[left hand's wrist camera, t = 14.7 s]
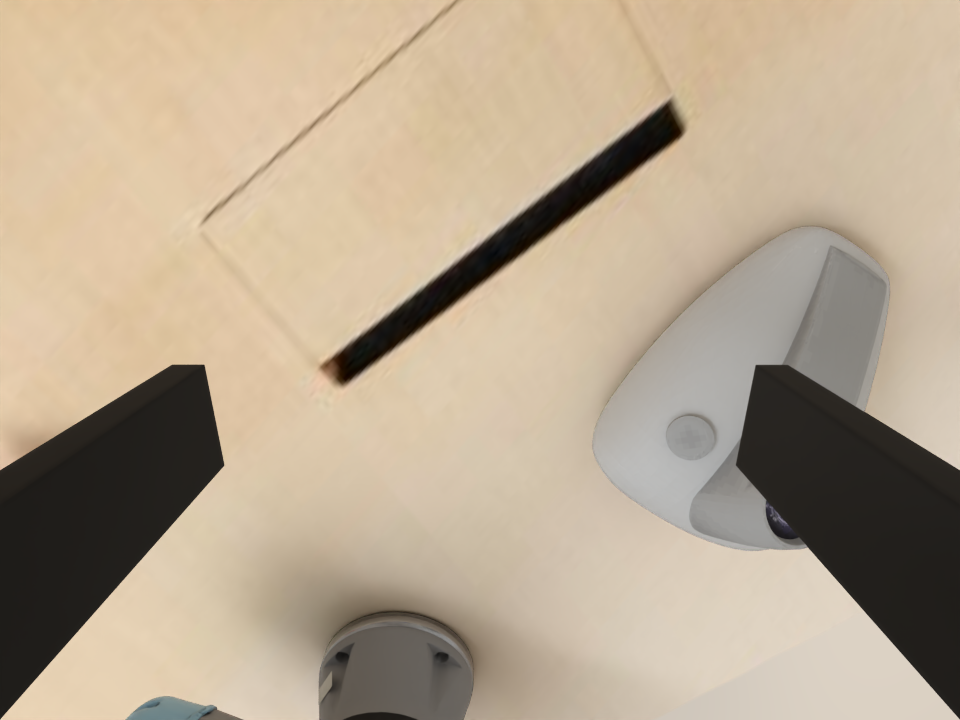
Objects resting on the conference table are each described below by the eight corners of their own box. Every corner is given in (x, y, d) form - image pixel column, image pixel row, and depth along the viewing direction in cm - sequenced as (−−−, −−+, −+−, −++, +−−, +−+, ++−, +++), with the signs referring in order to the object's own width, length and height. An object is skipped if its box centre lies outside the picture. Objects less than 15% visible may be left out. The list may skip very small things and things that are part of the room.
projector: (872, 461, 43) (1053, 593, 30) (610, 527, 46) (666, 678, 32) (857, 203, 36) (1088, 220, 22) (547, 297, 39) (585, 365, 25)
